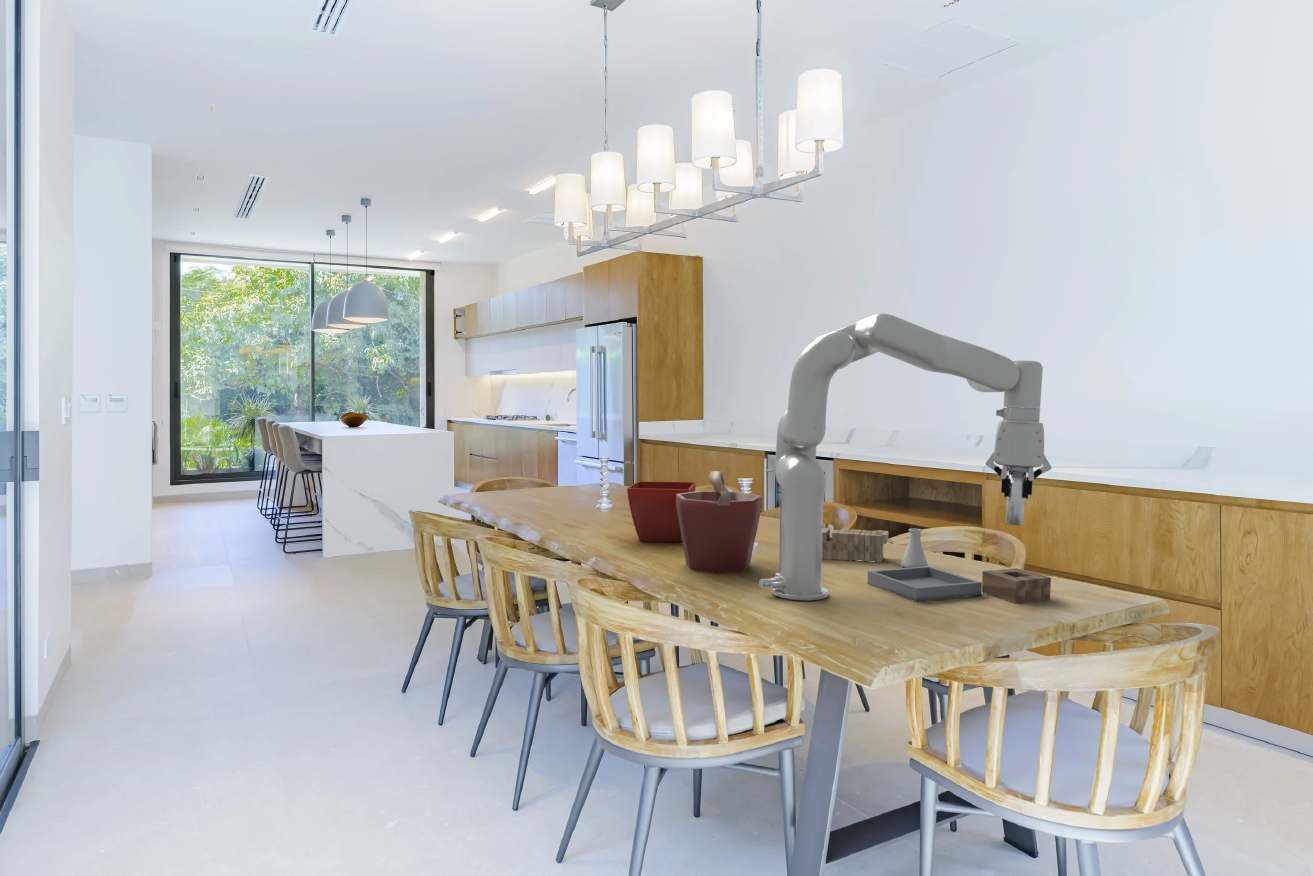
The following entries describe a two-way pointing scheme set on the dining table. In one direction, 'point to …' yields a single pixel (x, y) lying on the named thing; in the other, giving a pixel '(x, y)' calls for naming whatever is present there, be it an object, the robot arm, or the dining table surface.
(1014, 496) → the steel pin
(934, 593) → the tray
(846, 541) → the block tower
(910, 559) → the flask
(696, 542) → the bucket
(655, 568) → the dining table surface
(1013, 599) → the socket block
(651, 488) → the plant pot
